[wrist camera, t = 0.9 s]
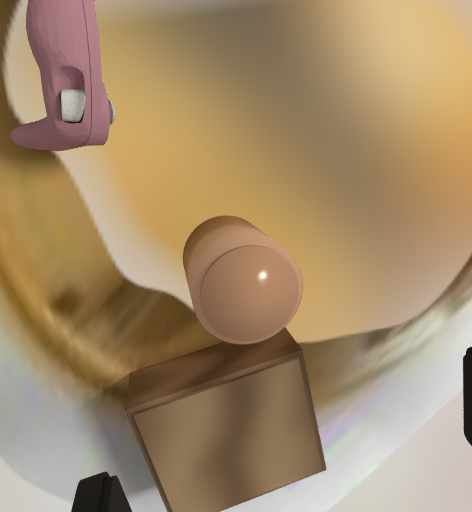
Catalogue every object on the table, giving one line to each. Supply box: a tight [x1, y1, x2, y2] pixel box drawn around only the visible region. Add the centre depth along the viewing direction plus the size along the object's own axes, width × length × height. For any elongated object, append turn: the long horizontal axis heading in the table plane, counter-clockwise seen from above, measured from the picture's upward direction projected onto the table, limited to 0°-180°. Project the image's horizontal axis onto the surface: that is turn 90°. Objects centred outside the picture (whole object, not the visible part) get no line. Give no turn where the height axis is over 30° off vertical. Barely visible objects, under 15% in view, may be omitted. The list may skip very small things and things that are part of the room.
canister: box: [183, 216, 303, 344], centre depth 22 cm, size 6×6×7 cm
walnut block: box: [125, 327, 326, 512], centre depth 26 cm, size 12×11×4 cm
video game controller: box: [10, 0, 116, 151], centre depth 18 cm, size 10×5×7 cm, turn 1°
